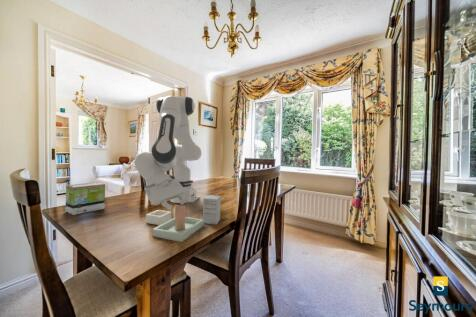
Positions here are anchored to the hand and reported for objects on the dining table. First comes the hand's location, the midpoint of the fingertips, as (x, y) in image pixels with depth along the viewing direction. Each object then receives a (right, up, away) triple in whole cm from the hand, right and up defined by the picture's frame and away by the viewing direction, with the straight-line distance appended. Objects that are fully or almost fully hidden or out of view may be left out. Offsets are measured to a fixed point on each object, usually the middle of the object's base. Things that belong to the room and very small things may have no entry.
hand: (177, 206), depth 89 cm
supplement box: (+13, -11, +13) cm, 21 cm away
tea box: (-58, -8, +22) cm, 62 cm away
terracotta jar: (+1, -10, 0) cm, 10 cm away
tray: (+1, -11, 0) cm, 11 cm away
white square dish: (-12, -10, +10) cm, 19 cm away
